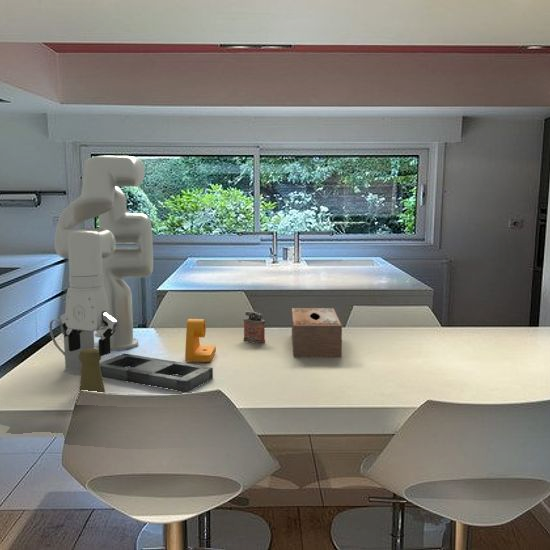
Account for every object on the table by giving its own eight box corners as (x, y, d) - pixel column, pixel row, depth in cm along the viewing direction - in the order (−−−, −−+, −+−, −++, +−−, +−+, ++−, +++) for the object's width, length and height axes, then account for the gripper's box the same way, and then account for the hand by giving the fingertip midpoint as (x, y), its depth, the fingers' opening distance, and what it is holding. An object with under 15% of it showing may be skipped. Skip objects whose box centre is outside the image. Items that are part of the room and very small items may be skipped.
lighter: (267, 342, 182) (267, 312, 180) (261, 344, 179) (261, 314, 178) (247, 338, 186) (247, 309, 185) (241, 340, 183) (241, 311, 182)
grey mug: (82, 376, 147) (80, 321, 145) (41, 370, 152) (37, 317, 150) (103, 366, 155) (101, 314, 153) (63, 361, 160) (60, 311, 158)
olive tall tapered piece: (90, 398, 131) (88, 354, 129) (73, 394, 134) (71, 350, 132) (110, 391, 136) (108, 348, 134) (93, 386, 139) (91, 344, 137)
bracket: (210, 364, 158) (209, 323, 156) (185, 363, 158) (184, 323, 157) (216, 353, 168) (215, 315, 167) (192, 353, 169) (192, 315, 167)
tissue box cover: (341, 358, 165) (341, 325, 163) (293, 358, 165) (293, 325, 163) (333, 336, 190) (333, 308, 189) (291, 336, 190) (291, 308, 189)
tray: (94, 375, 148) (93, 364, 147) (124, 363, 158) (124, 353, 158) (186, 392, 135) (186, 381, 134) (212, 378, 145) (212, 367, 145)
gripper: (47, 282, 131) (51, 351, 133) (102, 286, 124) (105, 360, 126) (72, 278, 138) (75, 345, 140) (125, 282, 130) (128, 352, 132)
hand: (89, 352), depth 133 cm, fingers open, 9 cm apart
